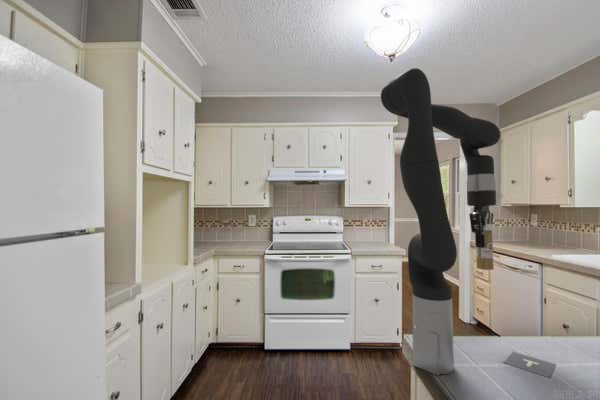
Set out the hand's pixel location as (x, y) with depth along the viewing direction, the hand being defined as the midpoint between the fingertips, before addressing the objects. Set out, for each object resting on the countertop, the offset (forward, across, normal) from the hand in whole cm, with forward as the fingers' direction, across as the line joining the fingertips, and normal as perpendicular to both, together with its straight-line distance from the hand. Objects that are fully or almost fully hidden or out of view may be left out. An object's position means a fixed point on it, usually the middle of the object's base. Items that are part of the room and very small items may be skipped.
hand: (482, 246), depth 86 cm
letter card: (+29, +5, +11) cm, 31 cm away
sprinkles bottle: (+7, 0, 0) cm, 7 cm away
